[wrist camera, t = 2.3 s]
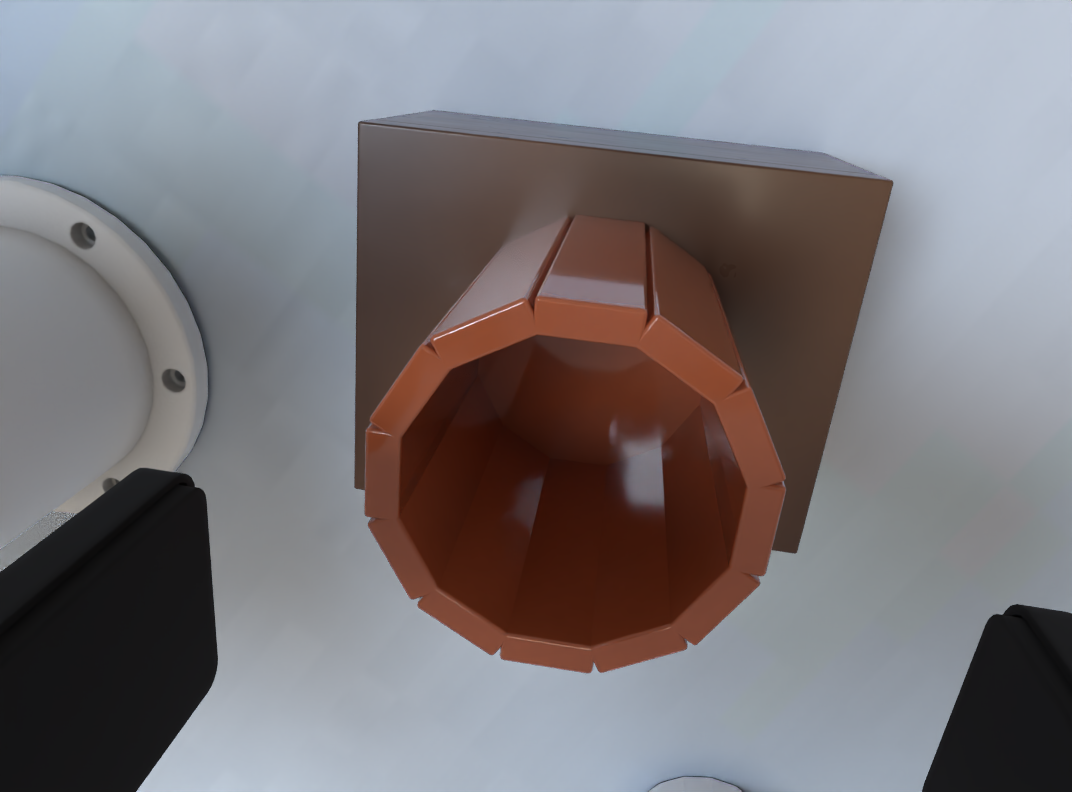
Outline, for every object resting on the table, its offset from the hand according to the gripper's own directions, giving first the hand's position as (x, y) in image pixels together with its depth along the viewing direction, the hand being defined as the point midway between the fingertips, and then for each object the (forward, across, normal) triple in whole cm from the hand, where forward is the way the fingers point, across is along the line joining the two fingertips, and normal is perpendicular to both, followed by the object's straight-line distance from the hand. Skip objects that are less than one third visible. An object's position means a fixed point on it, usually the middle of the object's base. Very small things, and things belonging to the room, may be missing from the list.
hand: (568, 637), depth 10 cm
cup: (+11, 0, 0) cm, 11 cm away
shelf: (+18, 0, 0) cm, 18 cm away
